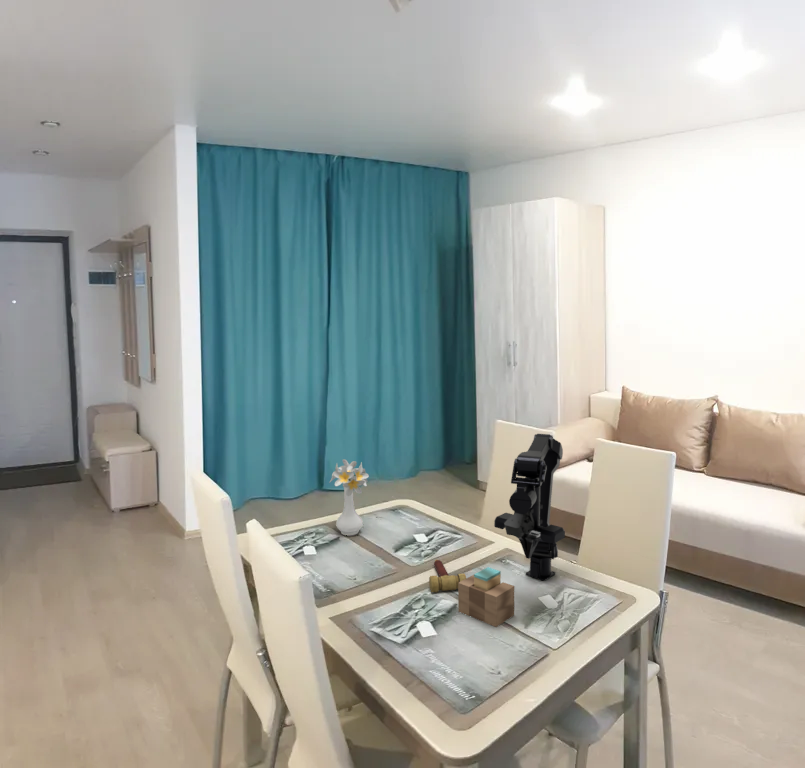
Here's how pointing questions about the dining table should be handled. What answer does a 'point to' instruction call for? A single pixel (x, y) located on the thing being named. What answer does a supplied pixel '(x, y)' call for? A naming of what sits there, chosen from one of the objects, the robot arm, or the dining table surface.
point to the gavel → (444, 579)
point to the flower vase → (349, 496)
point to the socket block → (486, 602)
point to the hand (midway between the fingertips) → (528, 558)
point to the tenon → (487, 579)
